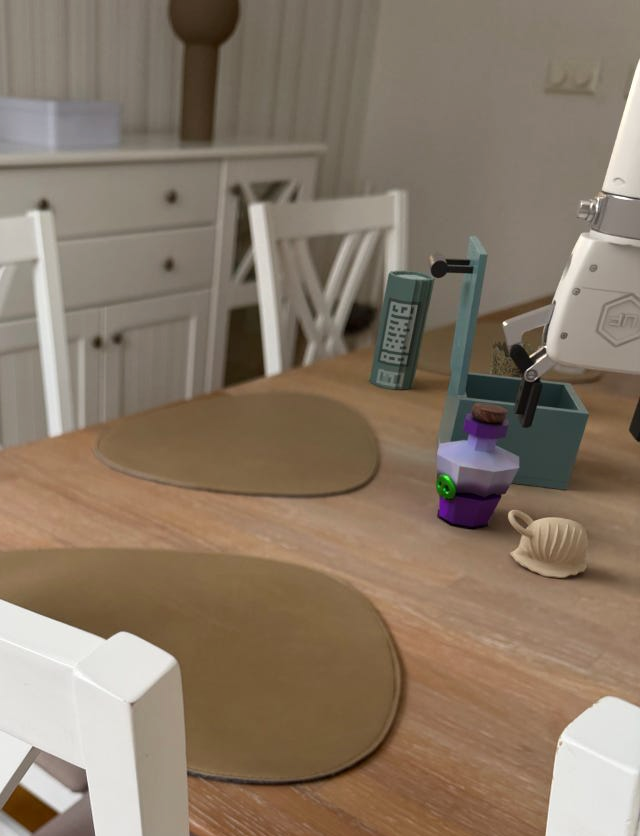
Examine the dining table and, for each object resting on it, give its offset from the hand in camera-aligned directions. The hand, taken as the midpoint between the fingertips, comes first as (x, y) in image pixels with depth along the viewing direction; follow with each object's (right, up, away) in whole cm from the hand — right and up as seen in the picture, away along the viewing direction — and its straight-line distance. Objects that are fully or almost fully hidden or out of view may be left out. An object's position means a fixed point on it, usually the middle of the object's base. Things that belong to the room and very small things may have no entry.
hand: (579, 430), depth 86 cm
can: (-3, +19, +56) cm, 59 cm away
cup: (+12, +14, +51) cm, 54 cm away
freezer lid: (-3, +18, +22) cm, 28 cm away
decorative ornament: (-1, -12, +7) cm, 14 cm away
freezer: (+3, +2, +30) cm, 30 cm away
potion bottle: (-5, -6, +16) cm, 18 cm away
